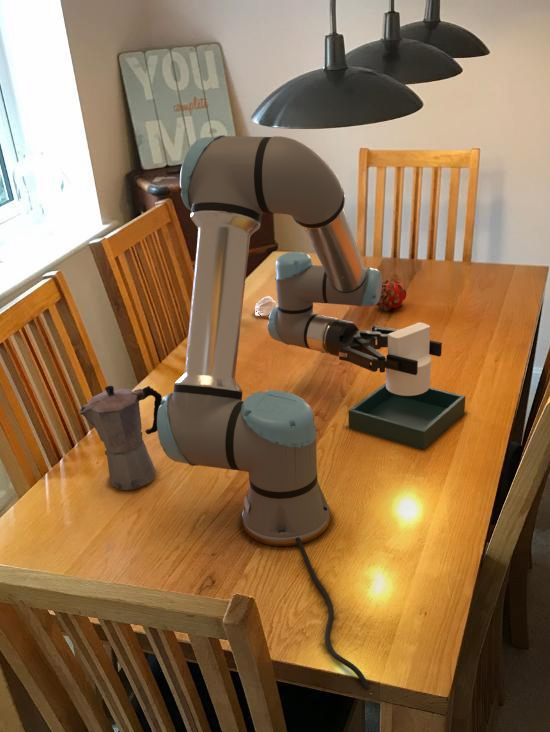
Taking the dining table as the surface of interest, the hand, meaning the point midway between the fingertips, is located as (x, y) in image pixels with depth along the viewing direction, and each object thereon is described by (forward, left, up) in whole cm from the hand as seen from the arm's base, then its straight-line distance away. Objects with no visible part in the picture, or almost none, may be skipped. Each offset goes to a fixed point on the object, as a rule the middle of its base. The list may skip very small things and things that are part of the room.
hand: (428, 358), depth 164 cm
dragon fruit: (+52, -42, -15) cm, 68 cm away
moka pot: (+26, +54, -15) cm, 62 cm away
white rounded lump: (+74, -16, -15) cm, 77 cm away
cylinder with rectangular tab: (+4, +1, -7) cm, 9 cm away
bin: (+4, +1, -15) cm, 16 cm away
